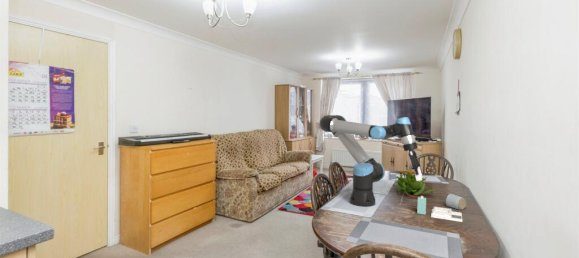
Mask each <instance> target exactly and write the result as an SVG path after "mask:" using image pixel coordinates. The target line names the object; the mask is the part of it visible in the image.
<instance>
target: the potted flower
mask: <svg viewBox="0 0 579 258" xmlns="http://www.w3.org/2000/svg"><path fill="white" fill-rule="evenodd" d="M398 173H399V176H398V175H397V176H395V178H396V179H397V185H396V184H394V183H393V184H392V185H393V186H394V187H395V188H396V191H398V192H400V193H404V194H405V196H406V197H408V198H413V199H414V198H415V199H416V198H417V199H418V197H421V196H423V194H429V193H434V192H436V191H435V190H433V189H427V188H428V186H426V183H425V182H424V181H427V178H428V176H426V177H424V175H423V174H422V176H423V178H422V180H419V181H417V180H416V177H415V173H414V170H412V169H410V170H407V171H406V172H405V171H404V170H400V171H398ZM423 182H424V183H423ZM426 189H427V190H426Z"/></svg>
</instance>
